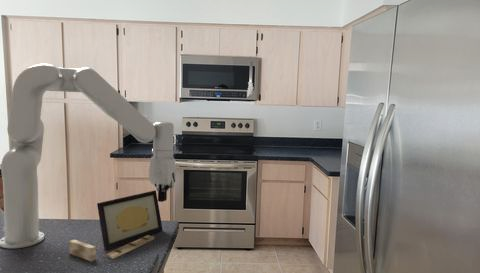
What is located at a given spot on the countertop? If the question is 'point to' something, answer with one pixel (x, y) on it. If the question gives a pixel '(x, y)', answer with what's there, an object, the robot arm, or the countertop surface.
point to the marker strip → (129, 247)
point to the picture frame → (129, 218)
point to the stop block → (82, 250)
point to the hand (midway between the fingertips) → (162, 200)
